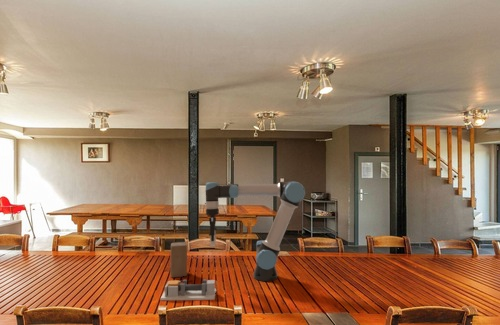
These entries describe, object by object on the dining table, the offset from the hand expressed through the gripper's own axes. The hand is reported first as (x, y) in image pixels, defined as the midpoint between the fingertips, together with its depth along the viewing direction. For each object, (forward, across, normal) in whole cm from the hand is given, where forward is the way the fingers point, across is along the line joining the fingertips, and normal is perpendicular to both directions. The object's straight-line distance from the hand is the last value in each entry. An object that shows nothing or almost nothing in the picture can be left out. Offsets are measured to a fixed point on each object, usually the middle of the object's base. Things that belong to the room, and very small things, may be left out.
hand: (213, 243), depth 183 cm
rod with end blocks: (+22, +15, -11) cm, 29 cm away
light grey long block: (+24, +15, -13) cm, 31 cm away
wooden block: (+23, -18, -23) cm, 38 cm away
